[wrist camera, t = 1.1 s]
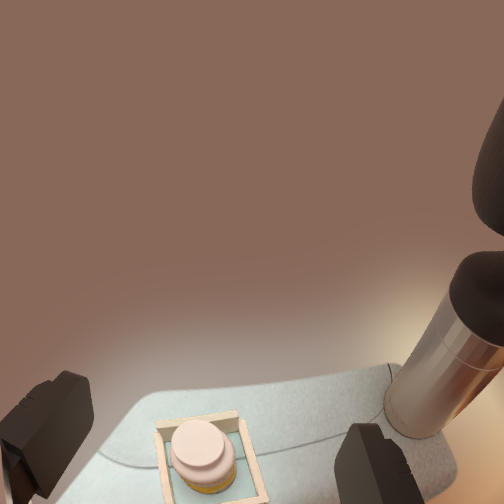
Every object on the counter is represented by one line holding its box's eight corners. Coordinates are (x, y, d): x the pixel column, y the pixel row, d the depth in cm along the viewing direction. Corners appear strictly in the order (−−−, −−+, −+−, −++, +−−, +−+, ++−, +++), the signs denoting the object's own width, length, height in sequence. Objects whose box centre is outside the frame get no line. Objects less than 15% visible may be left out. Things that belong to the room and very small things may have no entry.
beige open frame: (244, 423, 31) (244, 408, 29) (268, 502, 24) (272, 496, 21) (156, 436, 29) (147, 421, 26) (169, 518, 21) (161, 513, 19)
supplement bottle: (186, 445, 28) (170, 406, 23) (238, 451, 28) (238, 415, 22) (178, 490, 24) (155, 466, 18) (233, 498, 24) (230, 479, 18)
